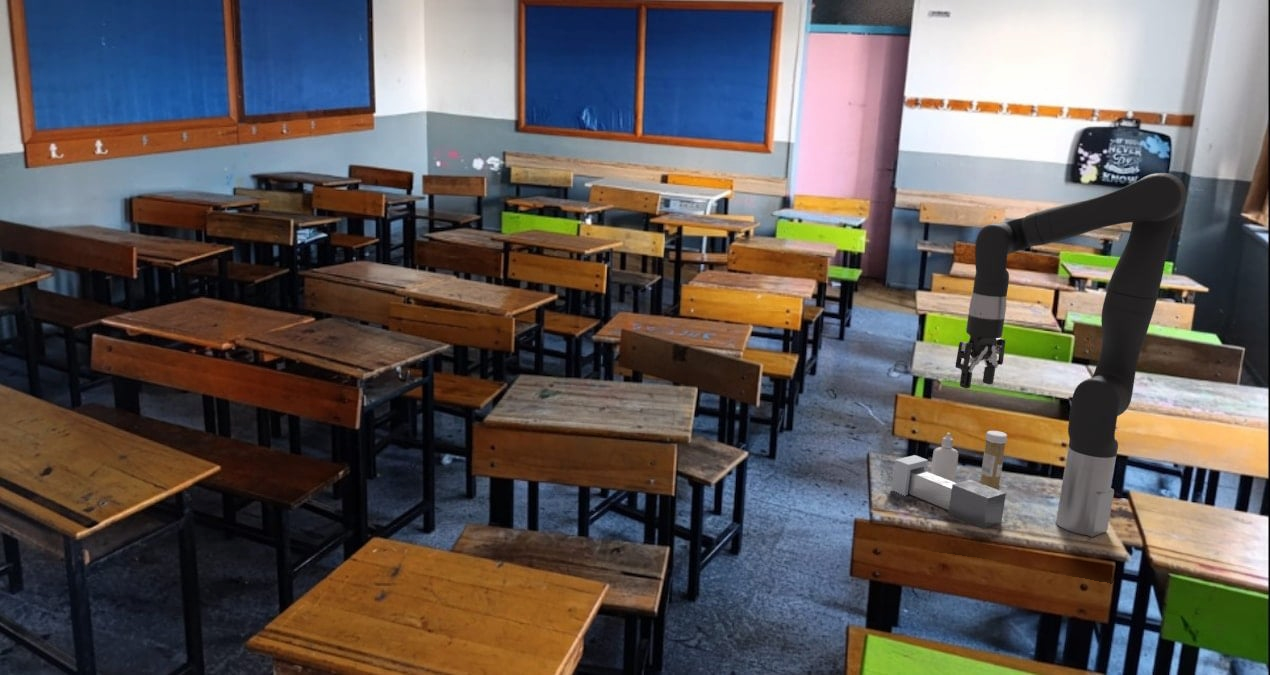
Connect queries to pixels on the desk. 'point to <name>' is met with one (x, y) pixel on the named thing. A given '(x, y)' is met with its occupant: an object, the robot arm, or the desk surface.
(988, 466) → the sprinkles bottle
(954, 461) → the eye dropper bottle
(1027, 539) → the desk surface
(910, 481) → the grey square post
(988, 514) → the sleeve
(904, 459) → the socket block
